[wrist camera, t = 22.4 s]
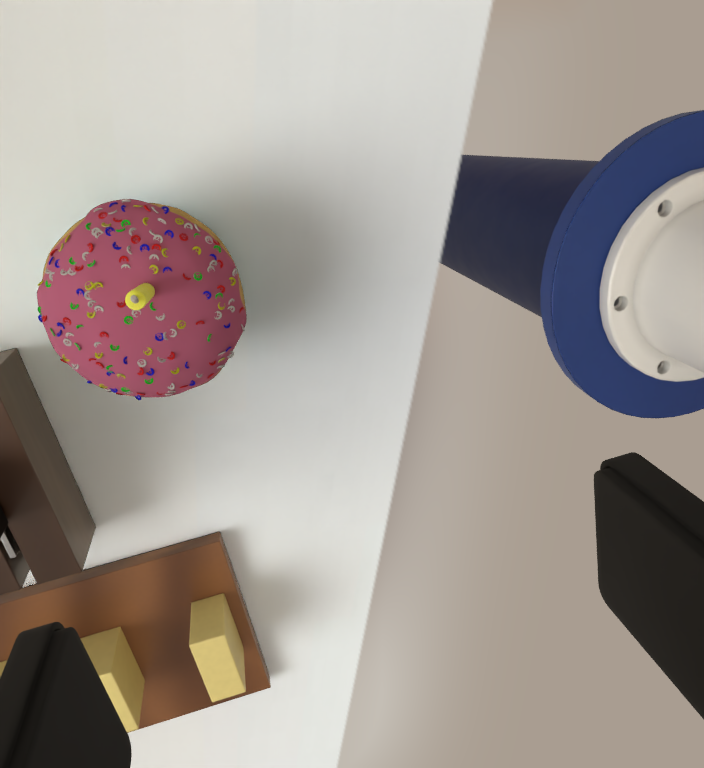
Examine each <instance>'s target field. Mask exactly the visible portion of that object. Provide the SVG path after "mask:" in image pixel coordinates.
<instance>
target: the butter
mask: <svg viewBox="0 0 704 768" xmlns="http://www.w3.org/2000/svg"><path fill="white" fill-rule="evenodd" d="M80 639H81V641H82V643H83V645H84V647H85V649H86V651H87V653H88V655H89V657H90V659H91V661H92V663H93V665H94V667H95V669H96V671H97V673H98V675H99V677H100V679H101V681H102V683H103V685H104V687H105V689H106V691H107V693H108V695H109V697H110V699H111V701H112V703H113V705H114V707H115V709H116V711H117V713H118V715H119V717H120V720H121V722H122V724H123V726H124V728H125V730H126V732H130V731H133V730H136V729H138V728H139V721H140V714H141V706H142V699H143V691H144V683H145V679H144V677H143V675H142V673H141V671H140V668H139V666H138V664H137V662H136V660H135V657H134V655H133V653H132V651H131V649H130V646H129V644H128V642H127V640H126V638H125V636H124V633H123V631H122V629H121V627H117V628H113V629H110V630H106V631H103V632H100V633H96V634H93V635H90V636H86V637H83V638H80ZM6 662H7V660H6V661H2V662H0V677H1V675H2V672H3V670H4V667H5V665H6Z"/></svg>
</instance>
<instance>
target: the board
mask: <svg viewBox="0 0 704 768" xmlns="http://www.w3.org/2000/svg"><path fill="white" fill-rule="evenodd" d="M222 593H224V594H225V597H226V600H227V603H228V606H229V608H230V611H231V614H232V617H233V619H234V622H235V625H236V628H237V631H238V633H239V636H240V639H241V642H242V644H243V648H244V666H245V684H246V692H244V693H241V694H238V695H235V696H231V697H228V698H225V699H222V700H219V701H216V702H212V701H211V698H210V696H209V693H208V691H207V689H206V686H205V684H204V681H203V679H202V676H201V674H200V671H199V669H198V666H197V664H196V661H195V659H194V657H193V654H192V652H191V649H190V647H189V639H190V620H191V603H192V602H195V601H198V600H202V599H205V598H208V597H212V596H215V595H218V594H222ZM53 622H60V623H61V624H62V625H63V626H64V628H68V627H73V628H74V629H75V630H76V631H77V633H78V635H79V637H80V638H83V637H86V636H90V635H93V634H96V633H100V632H103V631H106V630H110V629H113V628H117V627H121V629H122V631H123V633H124V636H125V638H126V640H127V642H128V644H129V646H130V649H131V651H132V653H133V655H134V657H135V660H136V662H137V664H138V666H139V668H140V671H141V673H142V675H143V677H144V679H145V683H144V691H143V699H142V706H141V714H140V721H139V728H138V729H141V728H144V727H147V726H151V725H154V724H157V723H160V722H163V721H166V720H169V719H173V718H176V717H179V716H182V715H185V714H188V713H191V712H195V711H198V710H201V709H204V708H207V707H210V706H213V705H217V704H220V703H223V702H226V701H229V700H232V699H235V698H239V697H242V696H245V695H248V694H251V693H254V692H257V691H261V690H264V689H267V688H270V676H269V673H268V670H267V667H266V664H265V661H264V658H263V655H262V652H261V650H260V647H259V644H258V641H257V638H256V635H255V632H254V629H253V626H252V623H251V620H250V618H249V615H248V612H247V609H246V606H245V603H244V600H243V597H242V594H241V591H240V588H239V586H238V583H237V580H236V577H235V574H234V571H233V568H232V565H231V562H230V559H229V556H228V554H227V551H226V548H225V545H224V542H223V539H222V536H221V533H220V532H217V533H214V534H210V535H207V536H203V537H200V538H196V539H193V540H189V541H186V542H182V543H179V544H175V545H172V546H168V547H165V548H161V549H158V550H154V551H151V552H147V553H144V554H140V555H137V556H133V557H130V558H126V559H123V560H119V561H116V562H112V563H109V564H105V565H102V566H98V567H95V568H91V569H88V570H84V571H82V572H81V573H77V574H74V575H70V576H67V577H63V578H60V579H56V580H53V581H49V582H46V583H42V584H35V585H32V586H28V587H25V588H21V589H20V590H17V591H14V592H10V593H7V594H3V595H0V662H2V661H6V660H8V657H9V655H10V653H11V650H12V648H13V645H14V643H15V640H16V638H17V636H18V635H19V634H20V633H21V632H22V631H26V630H29V629H33V628H36V627H39V626H43V625H46V624H50V623H53ZM138 729H136V730H138ZM133 731H135V730H133ZM130 732H132V731H130ZM127 733H129V732H127Z"/></svg>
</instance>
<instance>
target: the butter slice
mask: <svg viewBox="0 0 704 768" xmlns="http://www.w3.org/2000/svg"><path fill="white" fill-rule="evenodd" d="M189 647H190V649H191V652H192V654H193V657H194V659H195V661H196V664H197V666H198V669H199V671H200V674H201V676H202V679H203V681H204V684H205V686H206V689H207V691H208V693H209V696H210V698H211V701H212V702H216V701H219V700H222V699H225V698H228V697H231V696H235V695H238V694H241V693H244V692H246V684H245V666H244V648H243V644H242V642H241V639H240V636H239V633H238V631H237V628H236V625H235V622H234V619H233V617H232V614H231V611H230V608H229V606H228V603H227V600H226V597H225V594H224V593H222V594H218V595H215V596H212V597H208V598H205V599H202V600H198V601H195V602H192V603H191V620H190V639H189Z"/></svg>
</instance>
